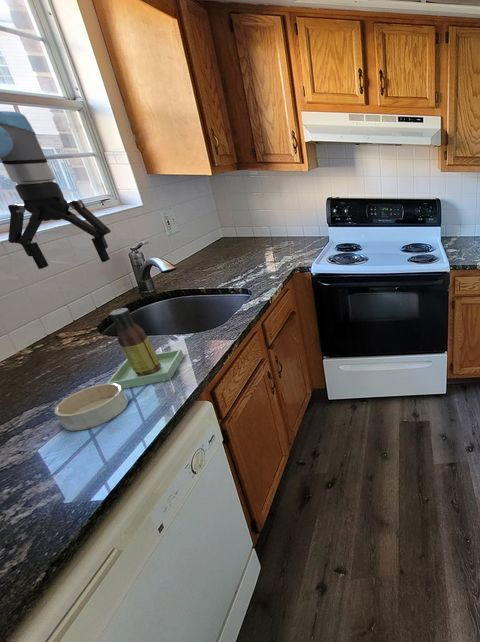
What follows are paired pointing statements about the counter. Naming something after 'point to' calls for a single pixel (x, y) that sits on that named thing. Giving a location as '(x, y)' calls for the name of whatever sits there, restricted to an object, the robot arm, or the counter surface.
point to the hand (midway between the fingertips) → (75, 264)
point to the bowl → (91, 406)
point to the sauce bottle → (135, 343)
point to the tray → (166, 371)
